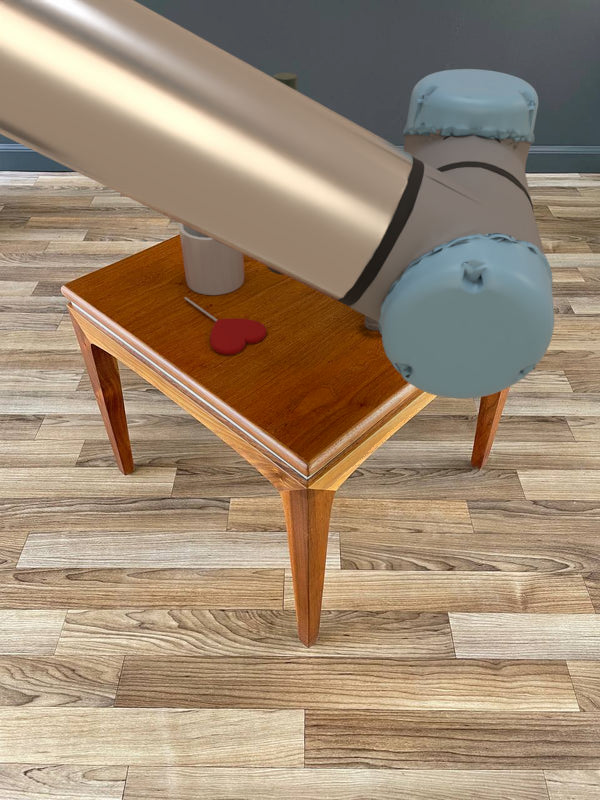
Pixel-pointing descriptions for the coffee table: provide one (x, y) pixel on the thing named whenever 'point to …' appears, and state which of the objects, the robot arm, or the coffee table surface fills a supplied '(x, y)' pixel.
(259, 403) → the coffee table surface
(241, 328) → the lollipop
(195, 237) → the canister
